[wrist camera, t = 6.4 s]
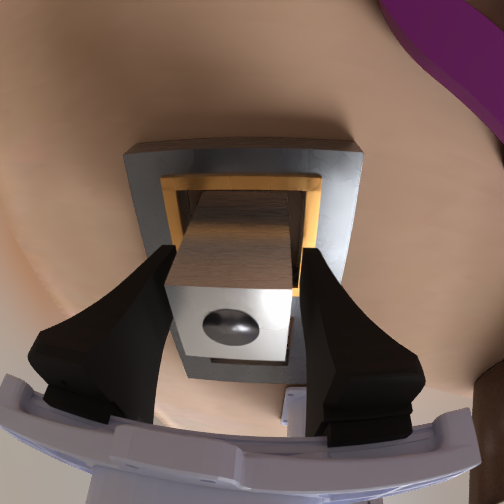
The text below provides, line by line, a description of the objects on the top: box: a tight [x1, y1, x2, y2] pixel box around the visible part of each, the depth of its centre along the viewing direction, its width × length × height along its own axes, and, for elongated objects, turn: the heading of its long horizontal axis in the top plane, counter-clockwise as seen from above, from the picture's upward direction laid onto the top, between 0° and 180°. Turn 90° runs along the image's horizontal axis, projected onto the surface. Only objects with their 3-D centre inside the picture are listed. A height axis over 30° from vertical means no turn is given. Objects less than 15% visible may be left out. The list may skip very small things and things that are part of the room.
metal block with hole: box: [164, 191, 293, 361], centre depth 13 cm, size 4×4×7 cm
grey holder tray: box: [123, 137, 364, 384], centre depth 18 cm, size 18×10×2 cm, turn 1°
